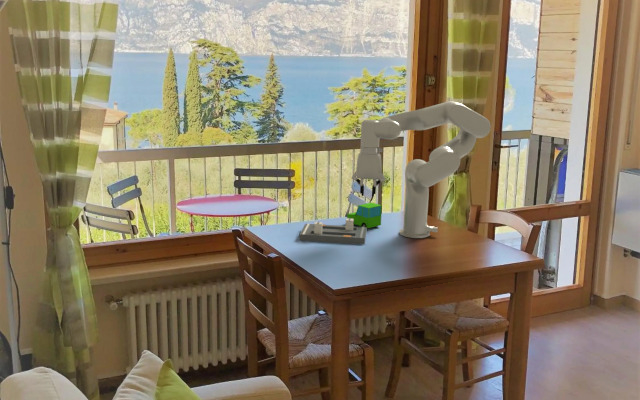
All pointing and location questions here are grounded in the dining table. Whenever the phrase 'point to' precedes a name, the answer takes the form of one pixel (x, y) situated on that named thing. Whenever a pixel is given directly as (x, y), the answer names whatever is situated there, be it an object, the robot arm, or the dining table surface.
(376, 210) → the toy car
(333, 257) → the dining table surface
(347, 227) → the tab
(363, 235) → the switch board
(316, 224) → the tab
